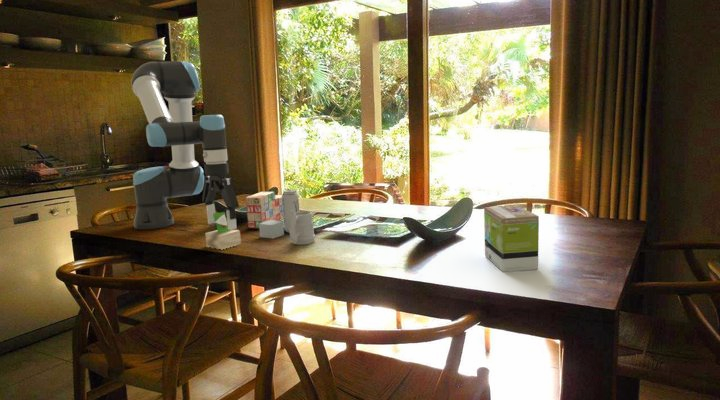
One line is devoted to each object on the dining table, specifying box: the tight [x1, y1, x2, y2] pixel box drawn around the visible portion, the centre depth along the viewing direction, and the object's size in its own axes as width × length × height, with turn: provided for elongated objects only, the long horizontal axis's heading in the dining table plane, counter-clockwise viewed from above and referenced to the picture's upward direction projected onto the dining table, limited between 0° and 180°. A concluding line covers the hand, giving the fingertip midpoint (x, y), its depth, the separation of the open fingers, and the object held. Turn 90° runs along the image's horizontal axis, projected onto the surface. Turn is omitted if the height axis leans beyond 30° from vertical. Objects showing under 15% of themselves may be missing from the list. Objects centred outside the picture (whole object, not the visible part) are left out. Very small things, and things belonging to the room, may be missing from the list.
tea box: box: [483, 204, 540, 273], centre depth 140 cm, size 15×10×15 cm, turn 5°
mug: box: [288, 210, 316, 246], centre depth 171 cm, size 8×12×12 cm, turn 156°
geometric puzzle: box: [210, 211, 230, 233], centre depth 172 cm, size 7×7×8 cm
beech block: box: [204, 229, 242, 251], centre depth 173 cm, size 8×8×5 cm
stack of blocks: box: [245, 191, 284, 229], centre depth 206 cm, size 21×6×12 cm, turn 162°
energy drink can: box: [281, 189, 301, 233], centre depth 189 cm, size 6×6×15 cm
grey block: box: [258, 220, 285, 239], centre depth 184 cm, size 6×6×5 cm
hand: (222, 226), depth 172 cm, fingers open, 13 cm apart
